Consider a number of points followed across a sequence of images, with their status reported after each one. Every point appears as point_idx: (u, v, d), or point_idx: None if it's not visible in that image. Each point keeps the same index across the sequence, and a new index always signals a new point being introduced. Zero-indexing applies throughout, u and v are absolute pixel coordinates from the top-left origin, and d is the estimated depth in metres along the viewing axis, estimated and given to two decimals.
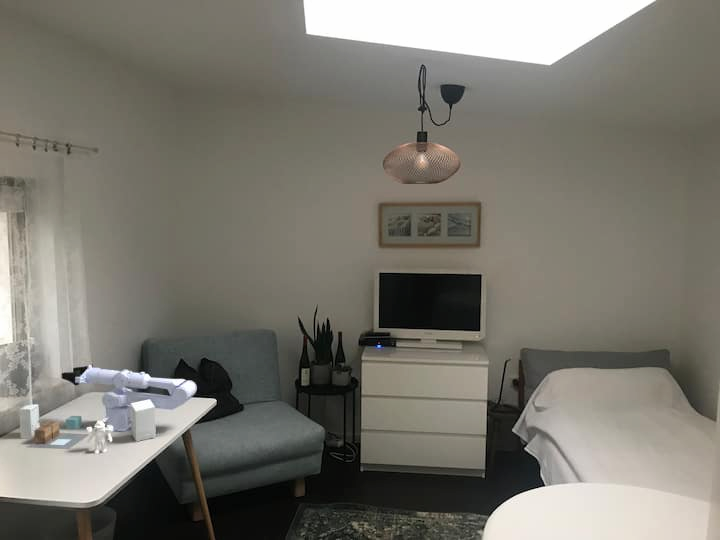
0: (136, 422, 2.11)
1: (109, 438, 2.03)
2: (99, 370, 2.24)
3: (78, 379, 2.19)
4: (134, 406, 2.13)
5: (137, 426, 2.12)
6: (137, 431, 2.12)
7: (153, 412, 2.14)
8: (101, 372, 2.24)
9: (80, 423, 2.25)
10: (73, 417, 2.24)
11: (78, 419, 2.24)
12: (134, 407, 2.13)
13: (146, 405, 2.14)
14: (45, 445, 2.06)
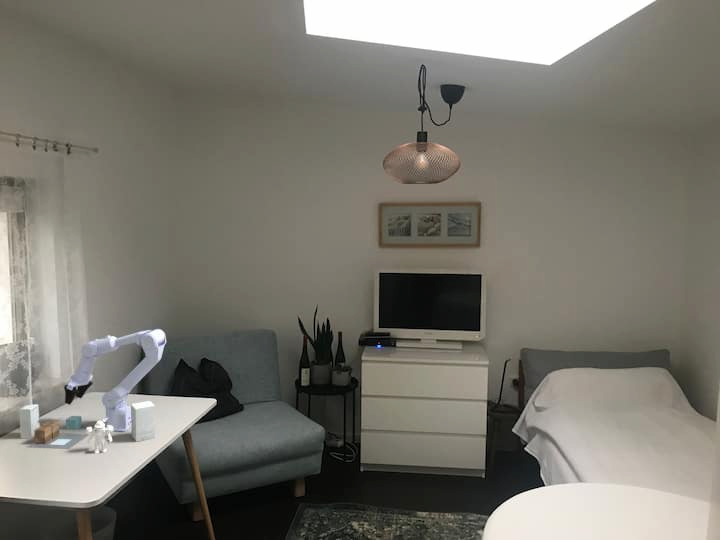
0: (136, 421, 2.12)
1: (109, 438, 2.03)
2: (77, 368, 2.25)
3: (69, 385, 2.19)
4: (134, 406, 2.15)
5: (137, 425, 2.13)
6: (137, 430, 2.13)
7: (153, 411, 2.16)
8: (77, 366, 2.24)
9: (80, 423, 2.25)
10: (73, 417, 2.24)
11: (78, 419, 2.24)
12: (134, 406, 2.15)
13: (146, 405, 2.16)
14: (45, 445, 2.06)
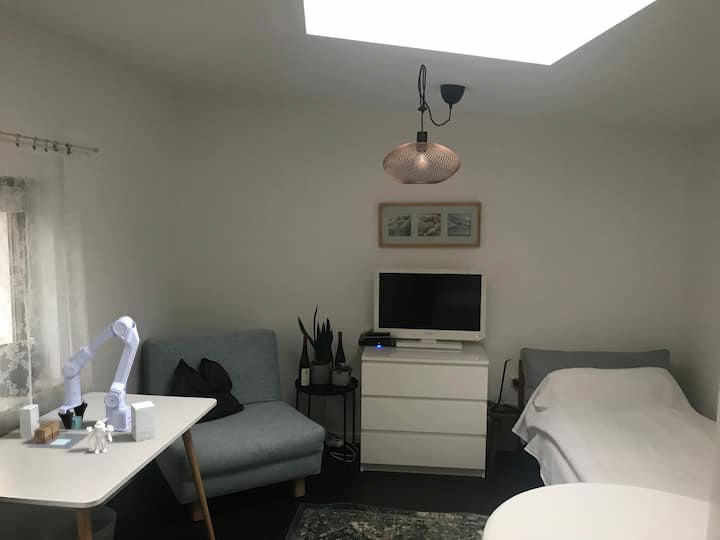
0: (136, 421, 2.12)
1: (109, 438, 2.03)
2: None
3: (61, 410, 2.16)
4: (134, 406, 2.15)
5: (137, 425, 2.13)
6: (137, 430, 2.13)
7: (153, 411, 2.16)
8: (65, 390, 2.21)
9: (80, 423, 2.25)
10: (73, 417, 2.24)
11: (78, 419, 2.24)
12: (134, 406, 2.15)
13: (146, 405, 2.16)
14: (45, 445, 2.06)
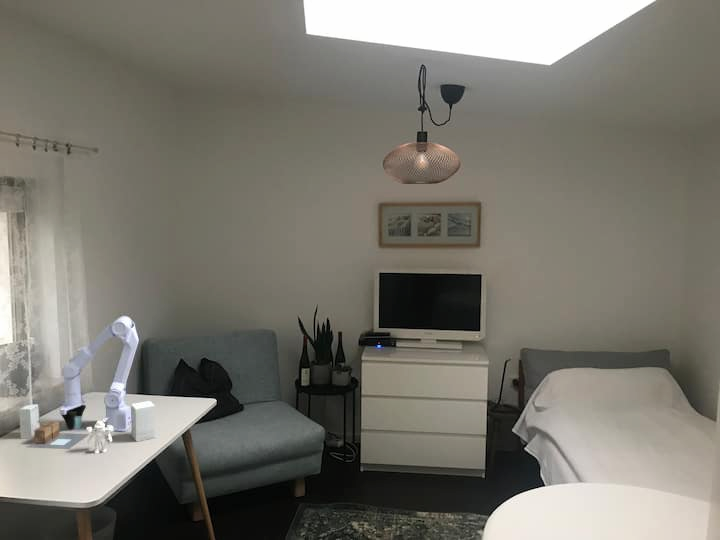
0: (136, 421, 2.12)
1: (109, 438, 2.03)
2: None
3: (61, 411, 2.16)
4: (134, 406, 2.15)
5: (137, 425, 2.13)
6: (137, 430, 2.13)
7: (153, 411, 2.16)
8: (65, 391, 2.21)
9: (80, 423, 2.25)
10: None
11: (78, 419, 2.24)
12: (134, 406, 2.15)
13: (146, 405, 2.16)
14: (45, 445, 2.06)
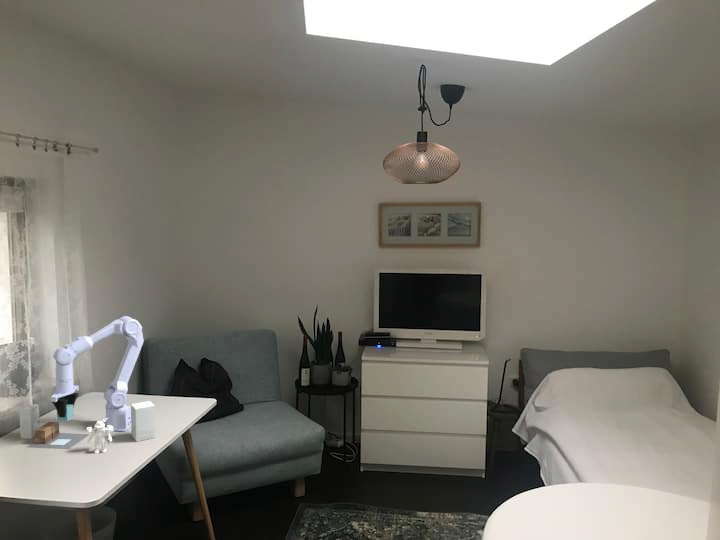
0: (136, 421, 2.12)
1: (109, 438, 2.03)
2: None
3: (52, 398, 2.07)
4: (134, 406, 2.15)
5: (137, 425, 2.13)
6: (137, 430, 2.13)
7: (153, 411, 2.16)
8: (58, 378, 2.11)
9: (72, 412, 2.16)
10: None
11: (69, 407, 2.15)
12: (134, 406, 2.15)
13: (146, 405, 2.16)
14: (45, 445, 2.06)
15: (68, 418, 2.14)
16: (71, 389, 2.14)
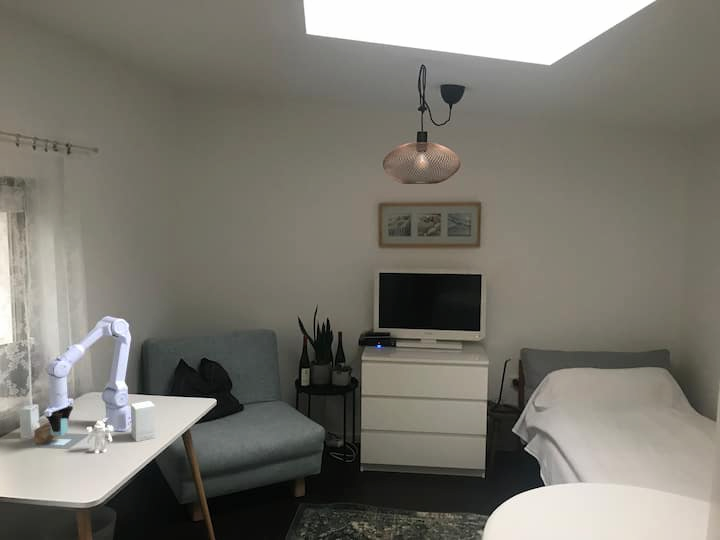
0: (136, 421, 2.12)
1: (109, 438, 2.03)
2: None
3: (45, 412, 2.01)
4: (134, 406, 2.15)
5: (137, 425, 2.13)
6: (137, 430, 2.13)
7: (153, 411, 2.16)
8: (54, 392, 2.05)
9: (66, 426, 2.10)
10: None
11: (64, 422, 2.08)
12: (134, 406, 2.15)
13: (146, 405, 2.16)
14: (45, 445, 2.06)
15: (62, 432, 2.08)
16: (65, 403, 2.08)
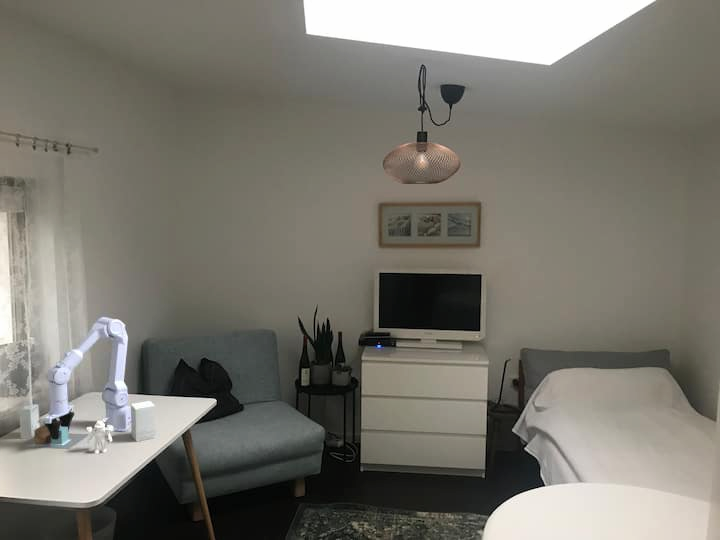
0: (136, 421, 2.12)
1: (109, 438, 2.03)
2: None
3: (46, 419, 2.01)
4: (134, 406, 2.15)
5: (137, 425, 2.13)
6: (137, 430, 2.13)
7: (153, 411, 2.16)
8: (55, 399, 2.05)
9: (66, 434, 2.10)
10: None
11: (64, 430, 2.09)
12: (134, 406, 2.15)
13: (146, 405, 2.16)
14: (45, 445, 2.06)
15: (63, 441, 2.08)
16: (66, 409, 2.08)
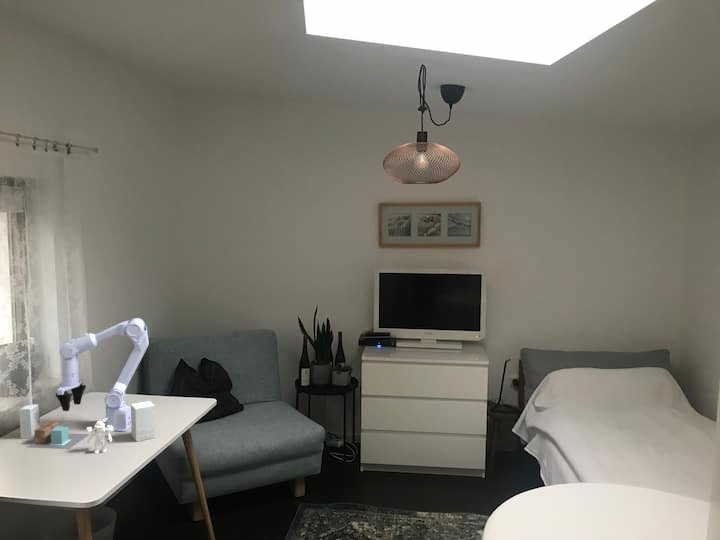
0: (136, 421, 2.12)
1: (109, 438, 2.03)
2: None
3: (58, 391, 2.14)
4: (134, 406, 2.15)
5: (137, 425, 2.13)
6: (137, 430, 2.13)
7: (153, 411, 2.16)
8: (62, 371, 2.19)
9: (66, 434, 2.10)
10: (59, 428, 2.09)
11: (64, 430, 2.09)
12: (134, 406, 2.15)
13: (146, 405, 2.16)
14: (45, 445, 2.06)
15: (63, 441, 2.08)
16: (77, 382, 2.21)
